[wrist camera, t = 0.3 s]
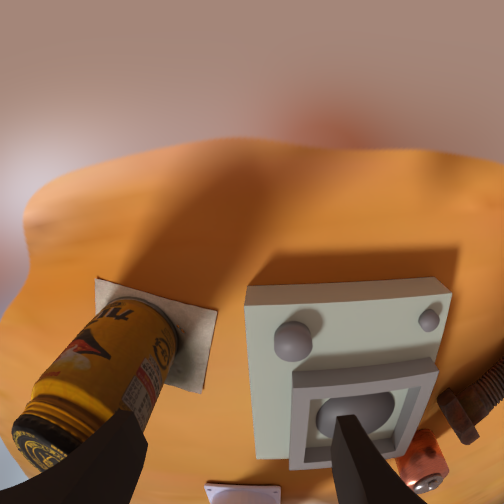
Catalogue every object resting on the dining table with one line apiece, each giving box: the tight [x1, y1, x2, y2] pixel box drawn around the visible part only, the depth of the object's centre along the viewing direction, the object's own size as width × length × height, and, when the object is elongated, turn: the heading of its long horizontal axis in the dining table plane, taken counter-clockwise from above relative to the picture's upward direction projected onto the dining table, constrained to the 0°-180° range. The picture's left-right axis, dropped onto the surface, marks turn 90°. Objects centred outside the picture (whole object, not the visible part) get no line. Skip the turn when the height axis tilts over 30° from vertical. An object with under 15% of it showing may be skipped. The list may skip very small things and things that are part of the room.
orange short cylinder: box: [395, 429, 449, 494], centre depth 20 cm, size 4×4×6 cm
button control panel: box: [244, 277, 452, 470], centre depth 18 cm, size 14×12×4 cm
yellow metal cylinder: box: [12, 279, 217, 472], centre depth 15 cm, size 7×8×12 cm
